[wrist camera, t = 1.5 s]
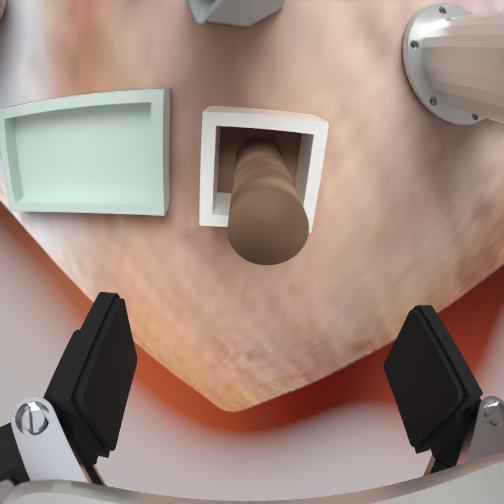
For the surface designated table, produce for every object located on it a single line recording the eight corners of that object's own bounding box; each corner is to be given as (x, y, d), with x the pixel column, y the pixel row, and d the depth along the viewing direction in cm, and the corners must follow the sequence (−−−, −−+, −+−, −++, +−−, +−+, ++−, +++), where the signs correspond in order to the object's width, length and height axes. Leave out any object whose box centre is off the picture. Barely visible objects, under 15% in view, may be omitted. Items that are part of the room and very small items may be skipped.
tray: (171, 88, 24) (163, 89, 22) (170, 204, 30) (164, 215, 28) (11, 106, 23) (-3, 110, 21) (22, 201, 29) (10, 211, 27)
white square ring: (315, 114, 26) (329, 123, 21) (301, 208, 30) (311, 232, 26) (210, 105, 25) (202, 111, 21) (206, 201, 30) (199, 225, 25)
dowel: (283, 138, 27) (315, 195, 15) (278, 181, 29) (302, 267, 17) (237, 134, 27) (229, 189, 15) (234, 177, 29) (225, 262, 17)
